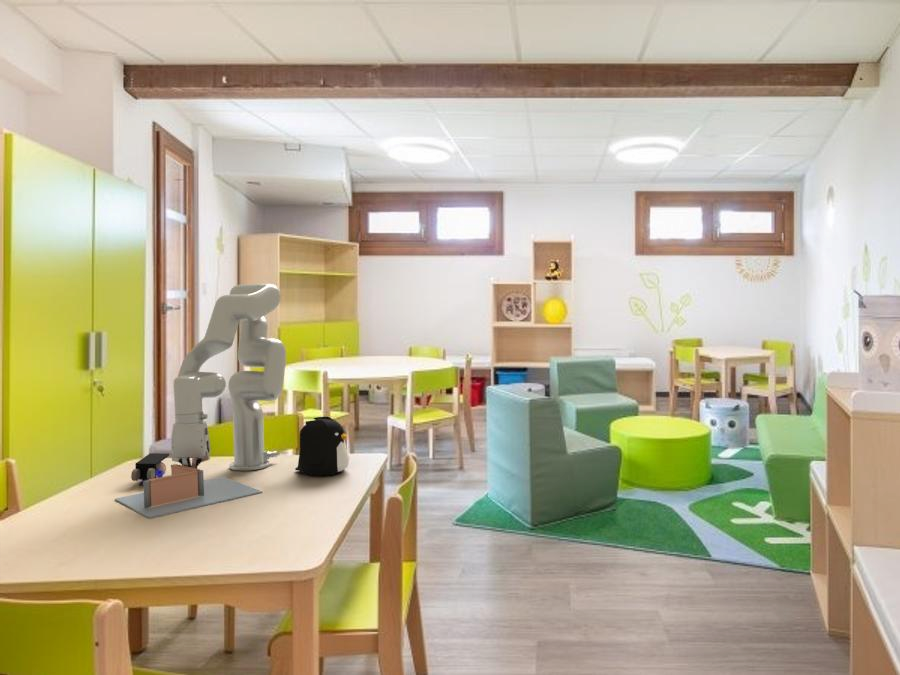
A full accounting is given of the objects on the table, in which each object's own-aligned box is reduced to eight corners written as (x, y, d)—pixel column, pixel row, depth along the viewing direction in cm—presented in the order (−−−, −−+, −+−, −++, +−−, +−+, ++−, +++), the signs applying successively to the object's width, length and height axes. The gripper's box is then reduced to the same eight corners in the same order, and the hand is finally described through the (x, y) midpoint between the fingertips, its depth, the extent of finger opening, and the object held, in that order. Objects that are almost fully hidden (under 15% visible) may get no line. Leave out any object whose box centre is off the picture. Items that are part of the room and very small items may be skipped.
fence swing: (201, 492, 201) (200, 469, 200) (196, 493, 200) (195, 470, 199) (176, 486, 208) (175, 463, 207) (171, 487, 207) (170, 464, 206)
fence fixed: (202, 495, 201) (201, 469, 200) (205, 496, 200) (204, 470, 199) (143, 508, 189) (142, 480, 189) (145, 509, 188) (144, 481, 188)
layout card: (222, 477, 220) (222, 476, 220) (262, 492, 203) (262, 490, 203) (114, 499, 198) (114, 498, 198) (149, 518, 181) (149, 516, 181)
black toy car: (154, 492, 211) (171, 473, 226) (152, 467, 209) (169, 450, 224) (131, 492, 210) (150, 474, 225) (128, 468, 209) (148, 451, 224)
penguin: (339, 480, 215) (338, 423, 214) (283, 478, 218) (282, 422, 217) (357, 466, 233) (356, 413, 232) (305, 464, 236) (304, 413, 235)
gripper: (219, 415, 209) (221, 476, 211) (168, 416, 210) (171, 477, 211) (210, 420, 202) (213, 483, 203) (157, 421, 202) (161, 484, 203)
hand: (191, 480), depth 207 cm, fingers closed
